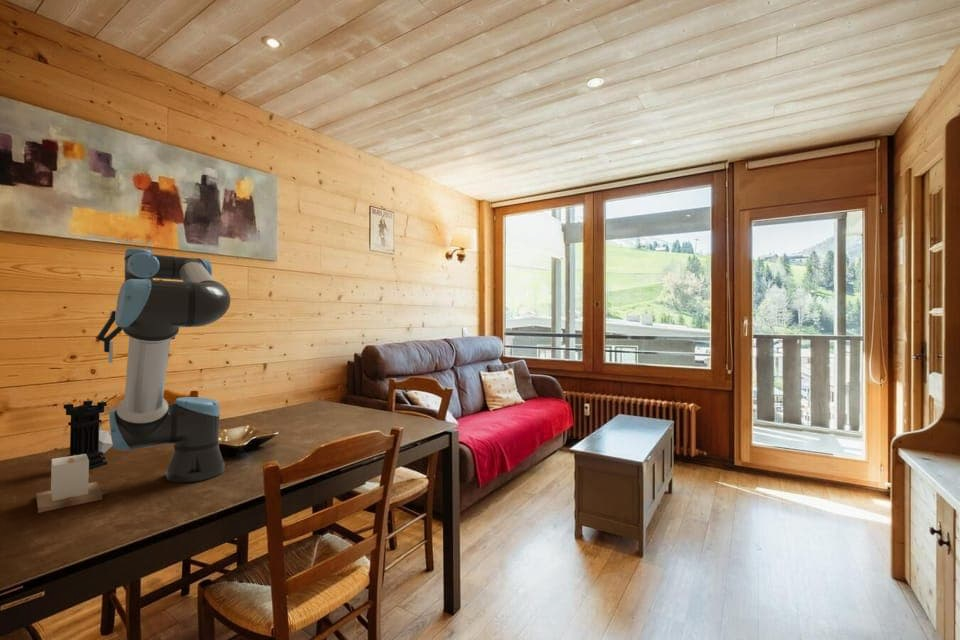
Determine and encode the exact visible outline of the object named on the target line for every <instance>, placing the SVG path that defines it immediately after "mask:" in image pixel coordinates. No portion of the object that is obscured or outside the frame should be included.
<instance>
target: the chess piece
mask: <svg viewBox="0 0 960 640" xmlns="http://www.w3.org/2000/svg"><path fill="white" fill-rule="evenodd" d="M96 403H97V404H93V400H88V399H87V400H84V401H82V404H81V405H76V406H74V404H73V403H66V404H63V409H64V410H65V416H70V421H69V422H68V423H67V426H70V433H69V434H70V435H69V454H68V455H65V456H64V457H68V456H75V455H81V454H86V455H87V457H88V459H89V471H90V470H93V469H97V468H100V467H103V466H105V465H108V461H106V456H103V455H104V454H103V452H99V430H100V423H102V422H103V420H102V419H100V414H102V413H105V407H107V405H108V403H107V401H98V402H96ZM104 460H105V461H104Z"/></svg>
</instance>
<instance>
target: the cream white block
mask: <svg viewBox="0 0 960 640" xmlns="http://www.w3.org/2000/svg"><path fill="white" fill-rule="evenodd" d="M67 456H68V455H67ZM50 470H51V472H50V478H51V479H50V491H51V496H52V501H56V500H61V499H66V498H69V497H75V496H80V495H85V494H88V483H89V475H90V473H89V472H90V470H89V459H88V457H87V455H86V454H81V455H75V456H68V457H65V456H64V457H56V458H51V468H50Z"/></svg>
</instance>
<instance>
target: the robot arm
mask: <svg viewBox="0 0 960 640" xmlns="http://www.w3.org/2000/svg"><path fill="white" fill-rule="evenodd" d="M124 253H125V254H124V282H123V283H122V284H121V286H120V288H119V291H118V296H117V301H116V307H115V310H111V311H110V315H109V318H108V320H107V321H106V322H105V324H104V325H103V327H102V329H101V330H100V332H99V333H98V334H97V336H96V339H97V340H98V341H101V342H103V351H104V353H107V363H109V364H113V358H114V357H113V355H114V352H113V351H114V343H113V341H112V340H113V339H114V338H115V337H116V336H117V335H118V334H120V333H121V332H123V334H125V335H126V336H127V337H128V348H127V349H128V350H127V360H126V361H127V362H126V377H125V386H124V387H125V389H124V398H123V399H122V400H121V401H120V402H119V403H118V404H117V407H116V408H113V409H111V410H110V411H109V414H108V415H109V416H108V417H109V418H108V419H109V428H110V436H111V438H112V444H113V446H112V447H113V448H114V449H115V450H117V451H127V450H128V451H129V450H130V451H132V450H137V449H144V448H145V449H146V448H151V447H158V446H165V445H171V444H173V454H172V456H171V459H170V462H169V465H168V467H167V468H166V471H165V478H166V480H167V481H169V482H173V483H191V482H192V483H194V482H200V481H205V480H209V479H212V478H215V477H218V476H219V475H221V474H223V473H224V472H225V460H224V458H223V456H222V455H223V454H222V452H221V449H220V446H219V445H220V443H219V442H220V416H221V413H220V404H219V402H218V401H217V400H216V399H212V398H208V397H207V398H206V397H199V396H197V397H195V396H183V397H178V398H176V399H175V400H174V403H168V401H167V400H166V398H164V393H165V386H166V377H167V368H168V361H169V354H170V353H169V352H170V346H171V345H170V344H171V340H174V339H175V338H176V336H177V335H178V334H179V332H180V331H179V330H180V328H193V327H194V328H196V327H204V326H207V325H210V324H213V323H214V322H217V321H218V320H219V319H221V318H223V316H224V315H225V314H226V313H227V311H228V310H229V308H230V305H231V302H232V301H231V294H230V292H229V290H228V289H227V288H226V286H225V285H223V284H222V283H221V282H219V281H217V280H215V279H214V278H213V276H212V273H213V266H212V262H211V261H210V260H209V259H205V258H204V259H203V258H199V257H197V258H196V257H195V258H194V257H185V256H184V257H182V256H172V255H161V254H154V251H152V250H149V249H145V248H144V249H143V248H127V249H125V252H124ZM114 322H115V326H116V328H115V329H114V330H112V331H111V332H110V333H109V334H108V335H107V336H106V334H107V333H108V331H110V328H111V327H112V325H113V324H114ZM105 336H106V337H105Z"/></svg>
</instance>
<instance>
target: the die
mask: <svg viewBox="0 0 960 640" xmlns="http://www.w3.org/2000/svg"><path fill="white" fill-rule="evenodd" d="M112 447H113V444H112V438H111V433H110V432H109V431H108V430H104V429H103V430H102V429H101V430H100V429H99V452H103V455H104V454H105V453H106V452H107V451H108V450H110V449H111V448H112Z"/></svg>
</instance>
